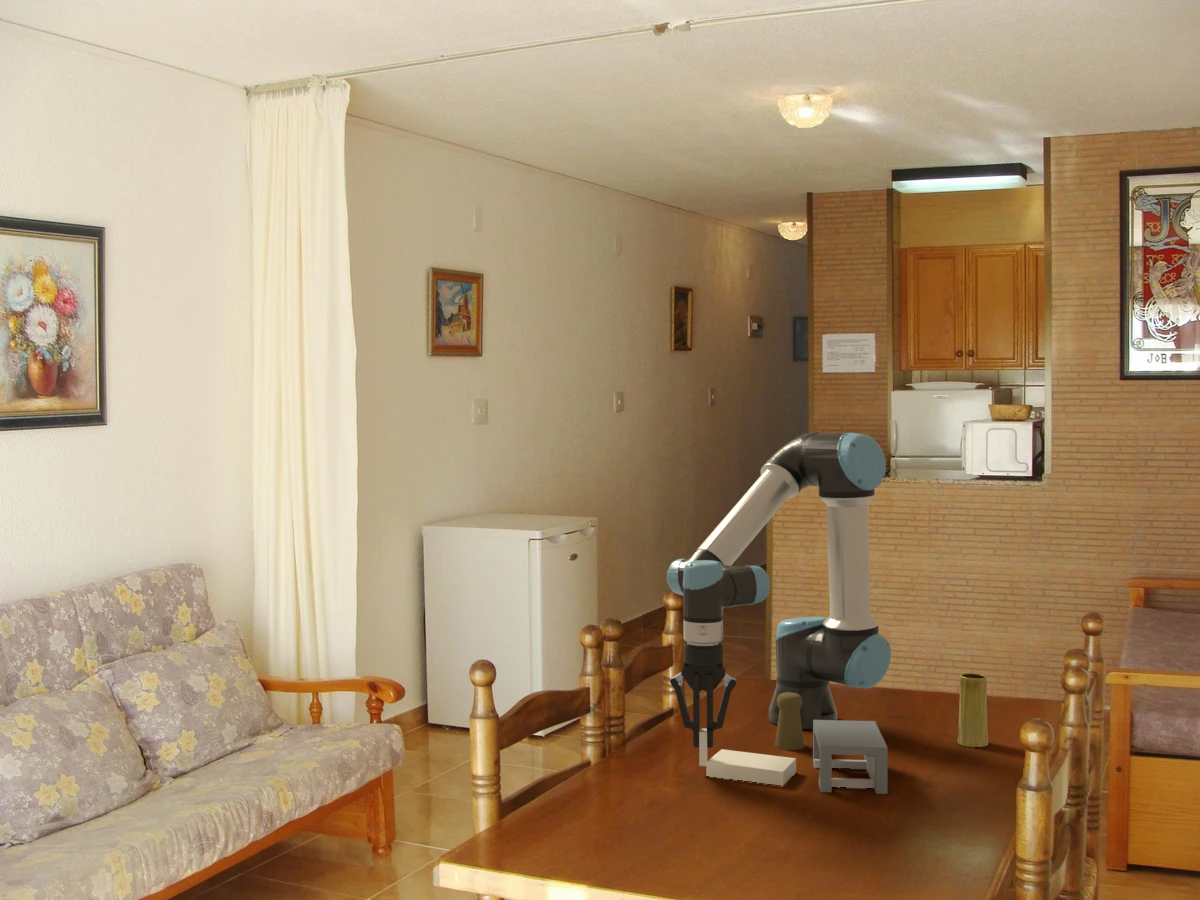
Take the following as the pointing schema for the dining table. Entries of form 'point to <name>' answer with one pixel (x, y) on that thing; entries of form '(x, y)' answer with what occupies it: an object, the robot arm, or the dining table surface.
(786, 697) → the cork
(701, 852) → the dining table surface
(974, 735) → the vase
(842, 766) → the shelf
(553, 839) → the dining table surface
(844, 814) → the dining table surface
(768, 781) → the cover
